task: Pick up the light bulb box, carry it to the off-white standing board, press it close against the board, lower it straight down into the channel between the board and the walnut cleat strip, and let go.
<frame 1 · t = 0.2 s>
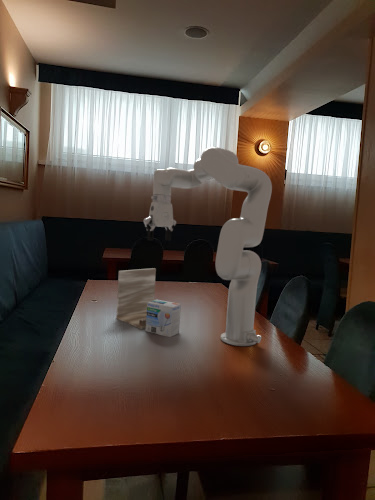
hand: (159, 240, 162), 31 cm above the table, tool pointing down, fingers open, 9 cm apart
light bulb box: (162, 332, 138), on the table
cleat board: (146, 319, 152), on the table
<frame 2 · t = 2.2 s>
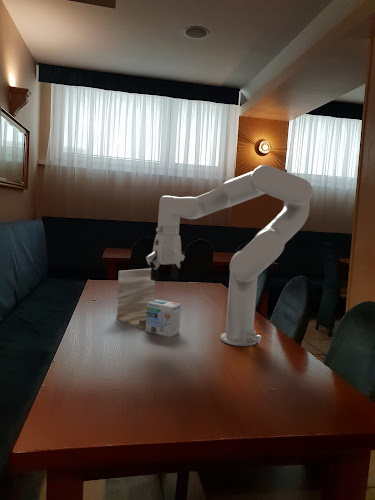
hand: (164, 279, 137), 19 cm above the table, tool pointing down, fingers open, 9 cm apart
nothing on the table moved.
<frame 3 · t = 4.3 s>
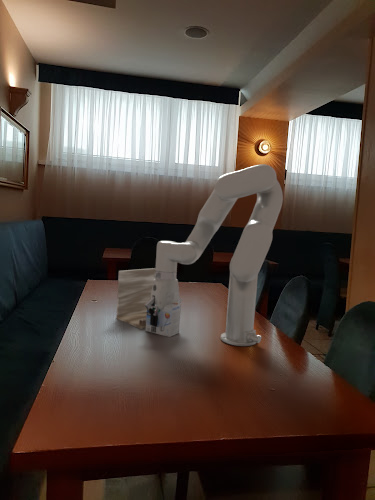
hand: (162, 323, 138), 3 cm above the table, tool pointing down, fingers closed on light bulb box, 8 cm apart
light bulb box: (162, 332, 138), on the table, touching gripper
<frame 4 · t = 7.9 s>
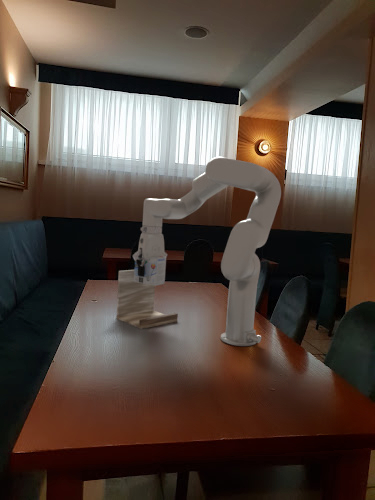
hand: (149, 275, 151), 18 cm above the table, tool pointing down, fingers closed on light bulb box, 8 cm apart
light bulb box: (149, 283, 151), point 15 cm above the table, touching gripper
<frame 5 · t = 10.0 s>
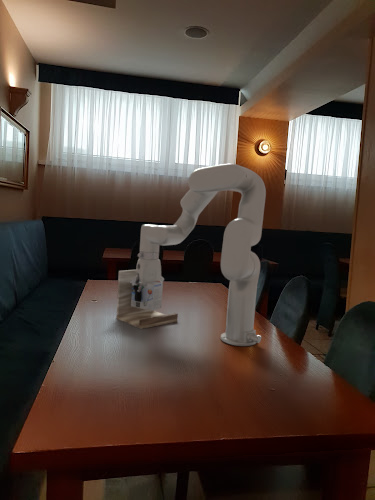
hand: (146, 299, 152), 8 cm above the table, tool pointing down, fingers closed on light bulb box, 7 cm apart
light bulb box: (146, 307, 153), point 5 cm above the table, touching gripper
when the fingers open (4 cm above the table, at t = 11.8 s): light bulb box stays where it is, resting on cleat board.
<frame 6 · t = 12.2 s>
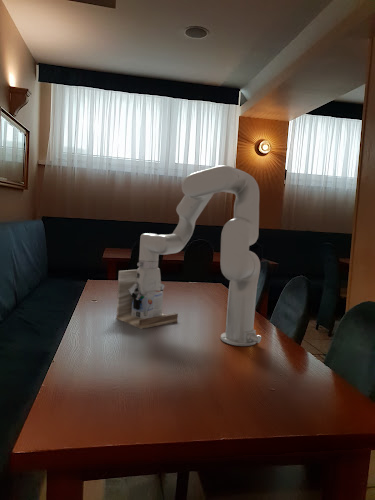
hand: (146, 307, 152), 5 cm above the table, tool pointing down, fingers open, 9 cm apart
light bulb box: (146, 317, 153), point 1 cm above the table, touching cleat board
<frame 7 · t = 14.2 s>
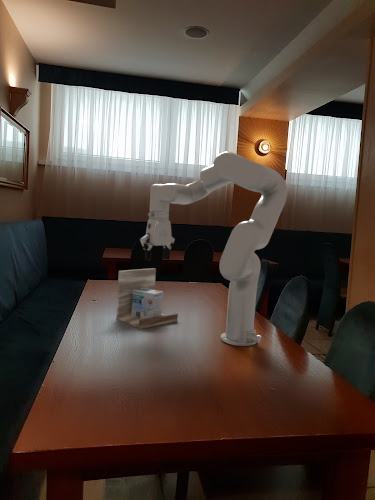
hand: (157, 259, 152), 24 cm above the table, tool pointing down, fingers open, 9 cm apart
nothing on the table moved.
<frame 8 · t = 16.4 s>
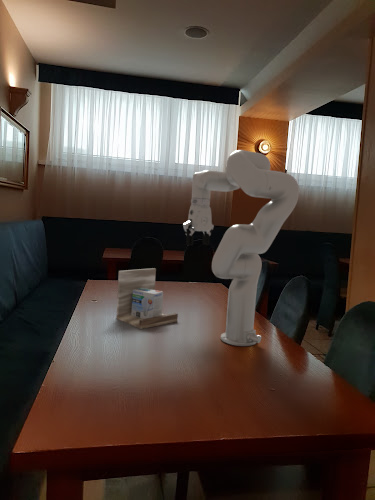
hand: (197, 245, 158), 30 cm above the table, tool pointing down, fingers open, 9 cm apart
nothing on the table moved.
at the end: light bulb box inside the target area on the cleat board (0.2 cm from its centre), point 0.8 cm above the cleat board's base; light bulb box tilted 0°; the gripper is holding nothing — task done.
